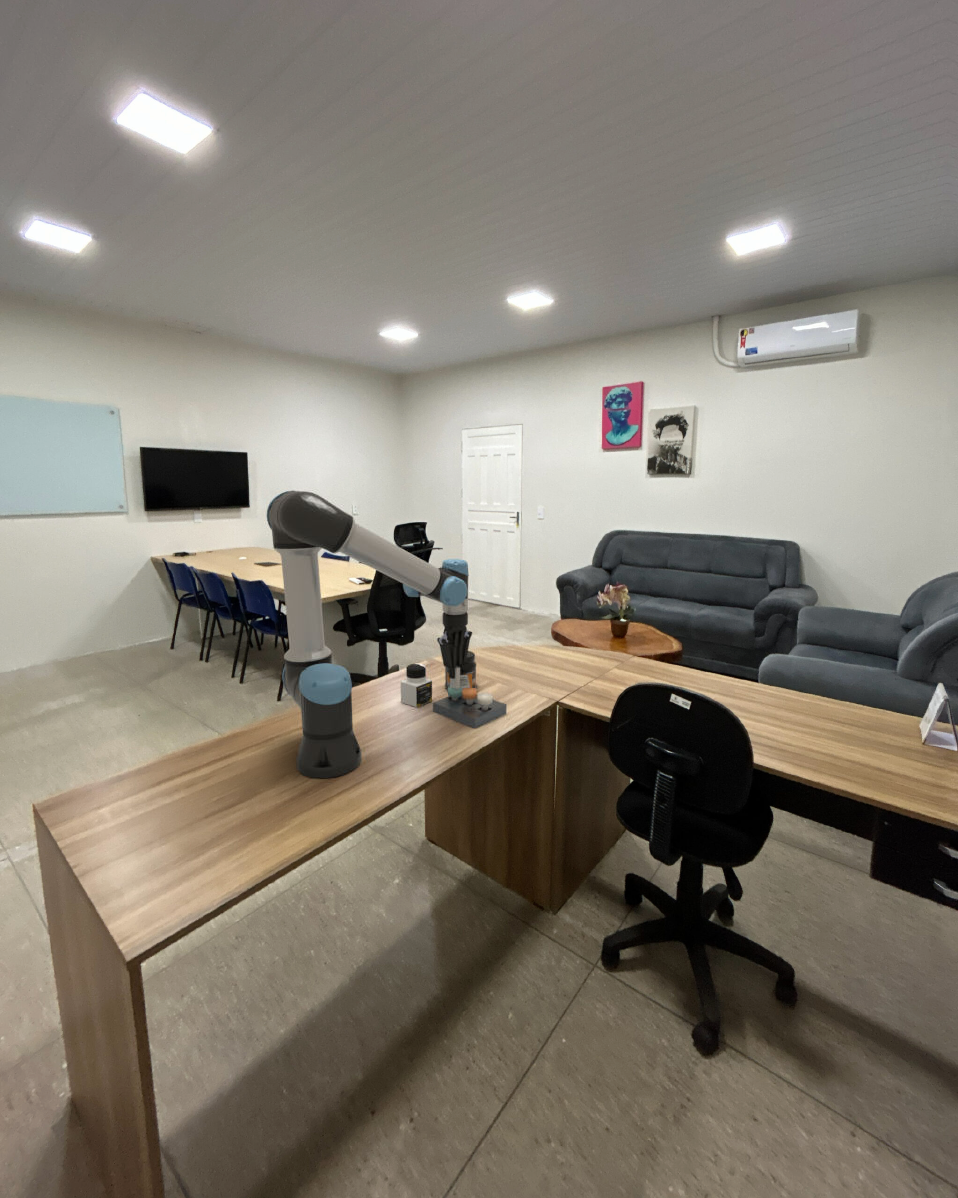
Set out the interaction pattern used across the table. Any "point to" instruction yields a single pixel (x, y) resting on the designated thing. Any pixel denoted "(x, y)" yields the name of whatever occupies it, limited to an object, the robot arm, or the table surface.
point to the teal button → (454, 693)
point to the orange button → (469, 695)
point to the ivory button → (484, 700)
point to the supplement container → (465, 673)
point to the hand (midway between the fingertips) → (454, 687)
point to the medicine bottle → (416, 686)
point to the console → (468, 711)
